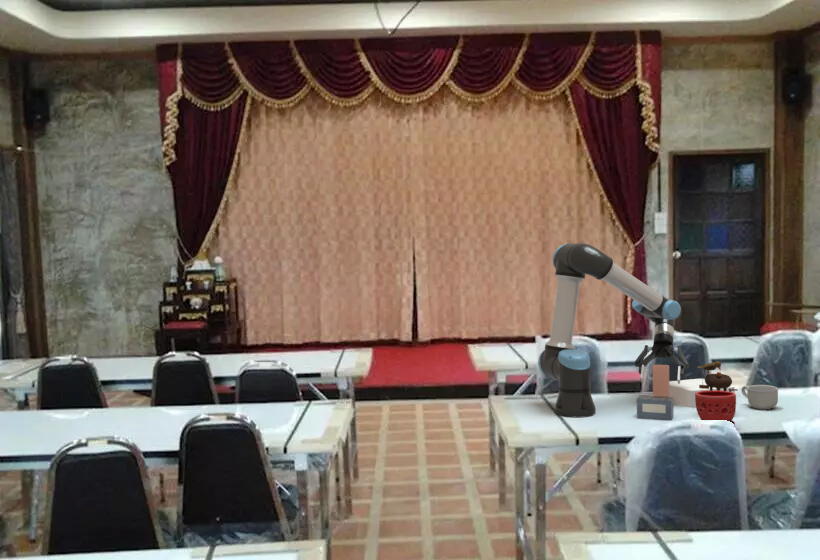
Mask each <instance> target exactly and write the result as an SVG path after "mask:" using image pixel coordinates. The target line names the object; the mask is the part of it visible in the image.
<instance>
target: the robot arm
mask: <svg viewBox="0 0 820 560" xmlns="http://www.w3.org/2000/svg"><path fill="white" fill-rule="evenodd" d="M614 262H615V261H614V259H613V258H611V257H610V256H609V255H607V254H606V253H604V252H603V251H601V250H600V249H598V248H597V247H595V246H593V245H591V244H588V243H575V242H574V243H566V244H562V245H560V246H559V247H557V248H556V249H555V250H554V253H553V255H552V265H553V267H554V268H555V271H554V272H555V273H554V276H555V277H556V279H557V286H556V294H555V301H554V309H553V315H552V323H551V329H550V330H551V331H550V336H549V340H548V341H547V342H545V345H544V349H543V351H542V352H541V353H540V354H539V355H538V362H537V363H538V364H537V365H538V367H539V370H540V372H541V373H542V374H543V375H544V376H546V377H547V378H549V379H551V380H555V381H557V382H558V395H557V399H556V402H555V405H554V414H556V413H557V414H556V415H558V414H560V415H559V416H561V415H565V416H564V417H568V416H586V417H590V416H589V415H592V416H593V414H594V415H596V406H595V402H594V400H593V397H592V394H591V358H590V357H591V356H590V355H589V353H587V352H586V351H584V350H580V349H579V350H578V349H576V347H575V345H574V344H573V343H572V342H573V337H574V328H575V322H576V315H577V308H578V307H577V306H578V301H579V294H580V286H581V283H582V282H583V281H584V280H586V275H588V276H590V277H593V278H595V279H596V280H598V281H601V280H602V281H604V282H606V283H607V284H609V285H610V286H612V287H613V288H615V289H616V290H618V291H619V292H621V293H622V294H624V295H625V296H627V297H628V298H630V299H631V300H632V302H631V307H632V309H634V310H635V311H636V312H637V313H639V314H640V315H642V316H643V317H645V318H646V319H648V320H649V321H651V322H653V323H654V333H653V342H652V343H653V345H652V346H649V345H647V344H646V345H644V348H643V350H642V351H641V352H640V354H639V355H638V357H636V359H635V360H634V366H635V367H636V368H637V367H638V375H640V383H644V380H645V379H644V378H645V370H646V369H645V368H646V366H647V365H648V364H649V363H650V362H652V361H653V360H655V359H656V358H658V359H660V358H664V359H667V358H669V360H671V361H672V362H673V363H674V364H675V365H676V366H677V368H678V369H677V378H676V379H677V380H676V381H678V384H680V380H681V377H683V376H684V371H685V370H686V369H687V370H688V369H690V365H689V361H688V360H687V358H686V357H685V355H684V352H682V347H681V346H680V345H678V346H676V347H674V336H675V323H676V319H678V318H679V316H680V314H681V312H682V308H681V305H680V304H679V302H678V301H676V300H673V299H669V298H667V297H665V296H664V295H662V294H661V293H660V292H658V291H656V290H655V289H654V288H652V287H650V286H648V285H647V284H646V283H644V282H643V281H641V280H640V279H638V278H637V277H635V276H634V275H632V274H630V273H629V272H628V271H626V270H625V269H623V268H622V267H621V266H619V265H617V264H616V263H614ZM650 352H651V353H650ZM674 352H675V353H676V354H677V355H678V357H679V358H678V357H677V356H676V355H675V354H674ZM648 353H649V354H648Z"/></svg>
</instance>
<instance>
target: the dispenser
mask: <svg viewBox="0 0 820 560" xmlns="http://www.w3.org/2000/svg"><path fill="white" fill-rule="evenodd" d="M674 415H675V414H674V403H673V397H668V396H653V395H645V394H642V395H641V394H639V395H638V397H637V398H636V418H637V419H643V420H644V419H645V420H659V421H660V420H661V421H672V420H673V418H674Z"/></svg>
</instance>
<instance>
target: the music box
mask: <svg viewBox="0 0 820 560" xmlns="http://www.w3.org/2000/svg"><path fill="white" fill-rule="evenodd" d="M696 367H697V369H702V372H701V373H704V371H705V370H706V371H707V374H706V376H705V377H704V379H705V383H706V384H707V385H703V382H702V385H699V388H702V391H703V389H709V387H710V391H713V388H717V391H720V389H721V388H724V391H726V389H727V388H728V387H730V386H731V385H732V384H733V379H732V378H731V377H730V375H728V374H725V373H724V374H722V372H721V371H722V370H721V367H722V363H721V361H718V360H716V361H715V362H709V363H706V364H704V365H702V366H701V365H700V366H696ZM717 368H718V369H719V371H716V373H710V371H714V370H717ZM731 390H732V391H738V390H739V389H737V388H735V389H730V388H729V392H731ZM715 405H717V404H715ZM702 406H703V404H702ZM706 407H707V406H706Z"/></svg>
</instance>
